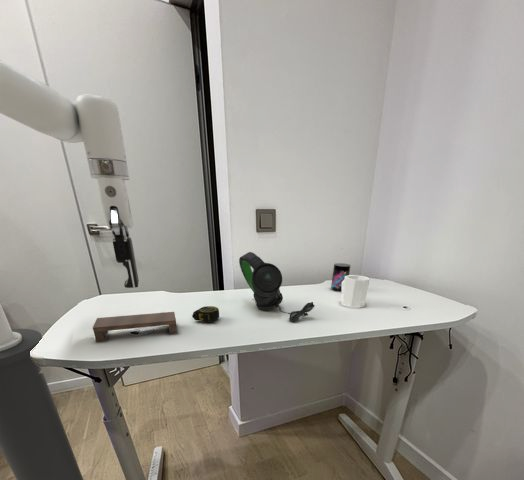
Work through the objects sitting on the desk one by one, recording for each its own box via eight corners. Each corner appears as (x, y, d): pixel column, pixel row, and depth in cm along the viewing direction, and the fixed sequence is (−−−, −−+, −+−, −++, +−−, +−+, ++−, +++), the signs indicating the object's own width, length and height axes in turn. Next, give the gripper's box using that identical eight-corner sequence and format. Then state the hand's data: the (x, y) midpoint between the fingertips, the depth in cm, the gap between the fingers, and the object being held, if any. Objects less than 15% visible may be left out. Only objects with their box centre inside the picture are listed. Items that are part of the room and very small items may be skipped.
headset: (282, 341, 97) (236, 284, 108) (314, 320, 99) (267, 266, 110) (280, 314, 80) (227, 250, 91) (319, 289, 82) (263, 229, 93)
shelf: (96, 342, 74) (92, 327, 72) (100, 331, 80) (96, 317, 78) (177, 333, 80) (175, 320, 78) (175, 324, 85) (174, 311, 84)
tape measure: (205, 315, 93) (204, 303, 91) (223, 318, 91) (223, 307, 89) (192, 322, 87) (191, 310, 86) (211, 326, 85) (210, 314, 83)
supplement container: (327, 288, 126) (330, 263, 121) (340, 287, 128) (344, 262, 123) (336, 292, 120) (340, 266, 116) (349, 291, 123) (354, 266, 118)
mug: (369, 306, 105) (374, 279, 100) (348, 308, 102) (353, 281, 98) (349, 297, 115) (354, 272, 110) (330, 298, 112) (334, 273, 108)
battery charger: (123, 282, 76) (114, 236, 71) (139, 281, 77) (131, 235, 72) (121, 289, 70) (111, 239, 65) (138, 288, 71) (129, 239, 66)
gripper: (125, 169, 56) (140, 263, 64) (130, 174, 71) (142, 251, 79) (81, 166, 54) (103, 264, 62) (96, 173, 68) (112, 251, 77)
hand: (125, 256), depth 70 cm, fingers closed on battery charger, 7 cm apart
